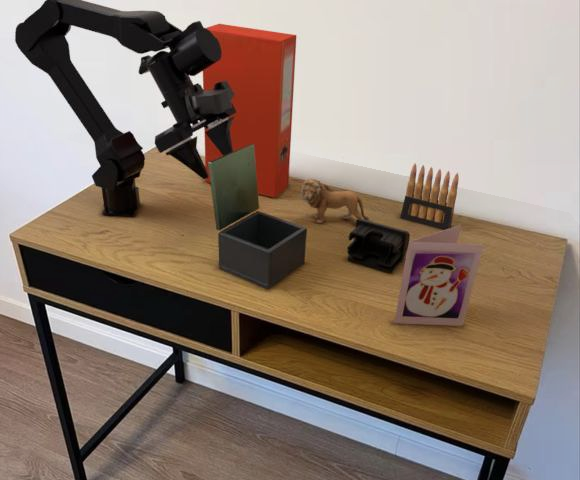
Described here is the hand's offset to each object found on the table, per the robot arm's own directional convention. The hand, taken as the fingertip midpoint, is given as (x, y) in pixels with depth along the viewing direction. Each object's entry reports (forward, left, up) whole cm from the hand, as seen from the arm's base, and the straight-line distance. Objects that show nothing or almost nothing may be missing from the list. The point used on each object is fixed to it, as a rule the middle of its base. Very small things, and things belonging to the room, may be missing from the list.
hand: (219, 169), depth 116 cm
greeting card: (+37, -23, -14) cm, 46 cm away
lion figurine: (+22, +10, -14) cm, 28 cm away
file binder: (+3, +27, -14) cm, 30 cm away
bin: (+9, -10, -14) cm, 19 cm away
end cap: (+30, -5, -14) cm, 34 cm away
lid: (+4, -7, 0) cm, 8 cm away
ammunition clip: (+42, +12, -14) cm, 46 cm away
